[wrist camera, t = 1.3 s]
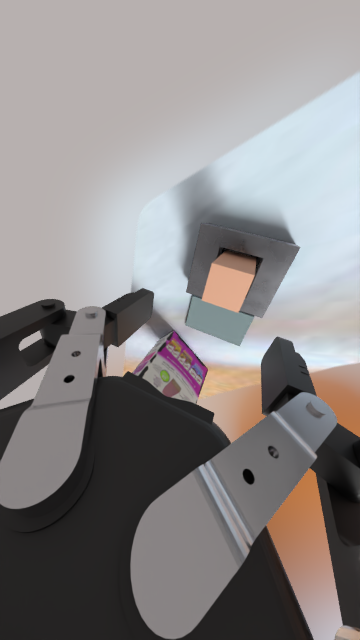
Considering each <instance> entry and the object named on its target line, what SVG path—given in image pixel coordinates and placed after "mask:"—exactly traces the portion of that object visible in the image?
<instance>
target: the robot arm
mask: <svg viewBox="0 0 360 640" xmlns="http://www.w3.org/2000/svg"><path fill="white" fill-rule="evenodd" d="M153 299H154V293H153V292H152V291H149V290H146V289H144V288H142V289H140V290H138V291H137V292H135V293H134V292H133V293H129V294H126V295H124V296H122V297H121V298H118V299H117V300H115V301H113V302H111V303H109V304H108V305H106V306H104V307H102V308H100V307H94V306H92V307H91V306H90V307H85V308H82V309H80V310H78V311H77V312H76V311H70V310H66V309H65V305H64V302H62V301H60V300H56V299H46V300H41V301H38V302H36V303H33V304H31V305H28V306H26V307H23V308H21V309H18V310H16V311H13V312H11V313H8V314H6V315H3V316H1V317H0V400H1V399H2V398H4V397H5V396H6V395H7V394H9V393H10V392H12V391H13V390H14V389H16V388H17V387H18V386H19V385H21V384H22V383H24V382H25V381H26V380H28V379H29V378H30V377H32V376H33V375H35V374H36V373H37V372H38V371H40V370H41V369H43V368H44V367H45V366H47V365H48V364H49V365H48V368H47V371H46V373H45V375H44V377H43V380H42V382H41V385H40V387H39V389H38V392H37V394H36V397H35V399H31V400H28V401H25V402H22V403H19V404H16V405H13V406H10V407H7V408H4V409H0V640H314V639H313V637H312V634H311V632H310V629H309V627H308V624H307V622H306V620H305V617H304V615H303V612H302V610H301V608H300V605H299V603H298V600H297V598H296V596H295V593H294V591H293V589H292V586H291V584H290V581H289V579H288V577H287V574H286V572H285V569H284V567H283V565H282V562H281V560H280V557H279V555H278V553H277V550H276V548H275V545H274V543H273V541H272V538H271V536H270V533H269V531H268V529H267V526H266V524H267V523H268V522H269V520H270V519H271V518H272V516H273V515H274V514H275V512H276V511H277V510H278V509H279V507H280V506H281V505H282V503H283V502H284V501H285V499H286V498H287V497H288V495H289V494H290V493H291V491H292V490H293V489H294V487H295V486H296V485H297V484H298V482H299V481H300V480H301V478H302V477H303V476H304V474H305V473H306V471H307V470H308V469H309V468H311V469H312V470H313V471H314V472H315V473H316V477H317V483H318V488H319V493H320V499H321V505H322V511H323V516H324V521H325V527H326V533H327V539H328V544H329V550H330V555H331V561H332V566H333V572H334V578H335V583H336V589H337V594H338V600H339V605H340V611H341V617H342V622H343V626H342V627H340V628H339V629H338V631H337V633H336V635H335V639H334V640H360V438H359V437H358V436H356V435H355V434H353V433H352V432H350V431H349V430H347V429H346V428H344V427H343V426H341V425H340V424H338V423H337V418H336V416H335V414H334V412H333V411H332V409H331V408H330V407H329V406H328V405H327V404H326V403H325V402H324V401H323V400H321V399H320V398H318V397H317V396H316V392H315V389H314V386H313V383H312V380H311V378H310V376H309V372H308V370H307V366H306V363H305V361H304V359H303V358H302V357H301V356H300V354H299V353H296V352H295V350H294V346H293V343H292V342H291V341H289V340H286V339H283V338H280V337H276V338H275V339H274V341H273V343H272V344H271V346H270V347H269V349H268V350H267V352H266V353H265V355H264V357H263V359H262V362H261V385H262V386H261V387H262V414H264V415H266V416H267V417H265V418H264V419H263V420H261V421H260V422H259V423H258V424H256V425H255V426H254V427H252V428H251V429H250V430H248V431H247V432H246V433H245V434H243V435H242V436H241V437H239V438H238V439H237V440H235V441H234V442H233V443H231V442H230V441H229V439H228V438H227V436H226V435H225V434H224V432H223V431H222V430H221V429H220V428H219V427H218V426H217V425H216V424H215V423H214V422H213V417H214V413H213V412H211V411H209V410H207V409H205V408H203V407H201V406H199V405H197V404H195V403H193V402H190V401H185V400H180V399H176V398H171V397H167V396H165V395H164V394H162V393H161V392H160V391H159V390H158V389H157V388H155V387H154V386H153V385H152V384H151V383H150V382H148V381H147V380H145V379H143V378H141V377H139V376H137V375H135V374H133V373H131V372H129V371H128V372H127V373H126V374H125V375H124V376H123V377H118V376H108V377H106V370H107V358H108V346H109V345H111V344H112V345H114V346H117V347H119V346H120V345H121V344H122V343H123V342H125V341H126V340H127V339H128V338H129V337H130V336H131V335H132V334H133V333H134V332H136V331H137V330H138V329H139V328H140V327H141V326H142V325H143V324H144V323H146V322H147V321H148V320H149V318H150V317H151V314H152V308H153ZM39 330H40V333H41V336H42V339H40V340H38V341H37V342H35V343H33V344H32V345H30V346H28V347H27V348H25V349H23V350H21V351H20V350H19V344H20V342H21V341H22V339H24V338H26V337H28V336H30V335H31V334H33V333H35V332H37V331H39Z"/></svg>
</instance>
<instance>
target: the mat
mask: <svg viewBox="0 0 360 640" xmlns="http://www.w3.org/2000/svg"><path fill="white" fill-rule="evenodd" d="M253 318H254V316H253V315H250V314H247V313H244V312H241V311H239V313H237V312H234V311H231V310H228V309H225V308H222V307H219V306H216V305H214V304H211V303H208V302H205V301H202V298H200V297H197V296H194V295H193V296H192V301H191V305H190V309H189V313H188V317H187V321H186V326H189V327H191V328H194V329H196V330H199V331H202V332H204V333H207V334H209V335H212V336H214V337H217V338H220V339H222V340H225V341H227V342H230V343H232V344H235V345H238V346H240V344H241V342H242V340H243V338H244V336H245V334H246V332H247V330H248V328H249V326H250V324H251V322H252V320H253Z"/></svg>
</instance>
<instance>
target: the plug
mask: <svg viewBox="0 0 360 640" xmlns="http://www.w3.org/2000/svg"><path fill="white" fill-rule="evenodd" d="M256 259H257V257H253V256H249V255H245V254H242V253H238V252H234V251H230V250H226V251H225V252H224V253H223V254H221V255H220V256H219V257H218V258H217V259H216V260H215V261H214V262H213V263H212V265H211V268H210V272H209V275H208V279H207V282H206V286H205V290H204V293H203V297H202V301H205V302H208V303H211V304H214V305H216V306H219V307H222V308H225V309H228V310H231V311H234V312H237V313H239V310H240V308H241V306H242V304H243V301H244V299H245V297H246V295H247V292H248V290H249V288H250V285H251V283H252V281H253V279H254V276H255V269H256Z"/></svg>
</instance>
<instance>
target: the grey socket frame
mask: <svg viewBox="0 0 360 640" xmlns="http://www.w3.org/2000/svg"><path fill="white" fill-rule="evenodd" d="M223 248H227V249H231V250H235V251H238V252H242V253H246V254H250V255H253V256H257V257H261V261H260V263H259V265H258V267H257V270H256V272H255V276H254V279H253V281H252V283H251V285H250V288H249V290H248V292H247V295H246V297H245V299H244V301H243V304H242V306H241V308H240V311H243V312H245V313H248V314H251V315H254V316H257V317H260V318H262V317H263V315H264V314H265V312H266V310H267V308H268V306H269V304H270V302H271V301H272V299H273V297H274V295H275V293H276V291H277V290H278V288H279V286H280V284H281V282H282V280H283V278H284V277H285V275H286V273H287V271H288V269H289V267H290V266H291V264H292V262H293V260H294V258H295V256H296V254H297V253H298V251H299V249H300V247H299V246H298V245H296V244H293V243H289V242H285V241H281V240H276V239H272V238H268V237H264V236H260V235H255V234H251V233H247V232H243V231H239V230H234V229H230V228H226V227H222V226H218V225H213V224H209V223H201V226H200V231H199V235H198V240H197V245H196V249H195V254H194V258H193V263H192V267H191V272H190V277H189V281H188V286H187V290H186V292H187V293H190V294H193V295H196V296H199V297H203V293H204V290H205V286H206V282H207V279H208V275H209V272H210V268H211V265H212V263H213V262H214V261H215V260H216V259H217V258H218V257H219V256H220V255H221V252H222V249H223Z"/></svg>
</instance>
